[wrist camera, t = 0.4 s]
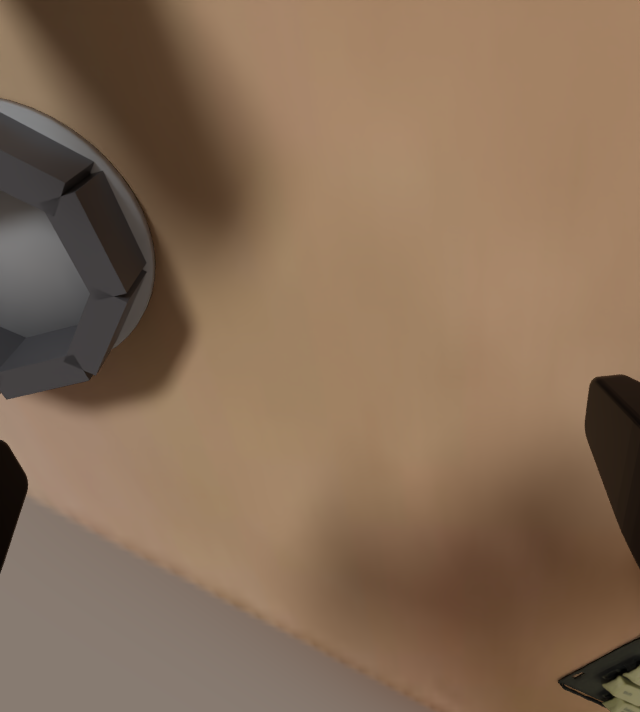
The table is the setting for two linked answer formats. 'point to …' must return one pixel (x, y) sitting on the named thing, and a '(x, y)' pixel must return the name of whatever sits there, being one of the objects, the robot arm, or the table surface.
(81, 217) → the collar
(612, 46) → the table surface
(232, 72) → the table surface
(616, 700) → the keyboard
